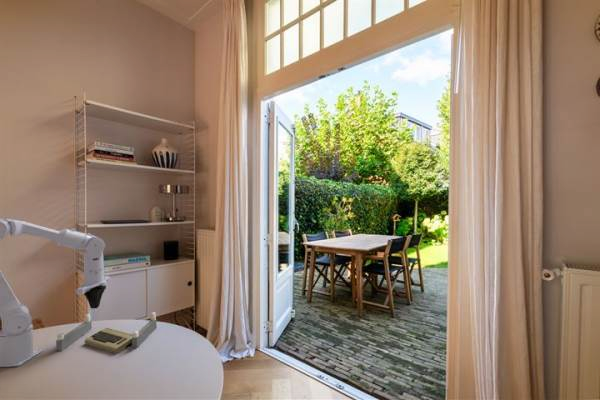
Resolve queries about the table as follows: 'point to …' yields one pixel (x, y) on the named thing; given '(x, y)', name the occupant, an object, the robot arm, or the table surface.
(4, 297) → the robot arm
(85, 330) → the dock
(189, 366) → the table surface
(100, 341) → the computer
